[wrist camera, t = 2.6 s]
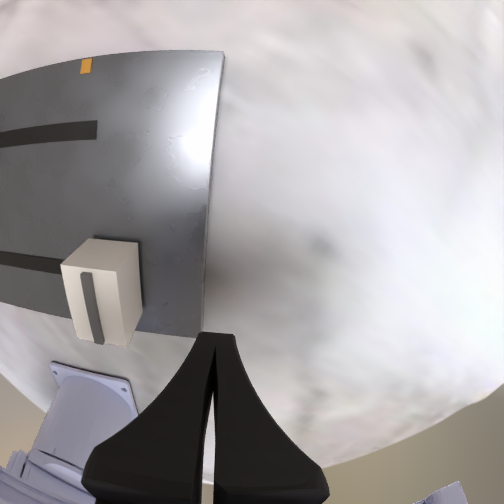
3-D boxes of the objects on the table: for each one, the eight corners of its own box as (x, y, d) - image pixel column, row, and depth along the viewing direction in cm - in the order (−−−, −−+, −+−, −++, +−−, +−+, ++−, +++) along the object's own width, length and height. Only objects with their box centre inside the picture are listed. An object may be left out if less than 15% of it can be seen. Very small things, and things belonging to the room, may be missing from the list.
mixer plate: (202, 326, 19) (200, 339, 18) (-38, 281, 17) (-46, 287, 16) (224, 57, 12) (223, 51, 11) (-57, 106, 10) (-68, 108, 9)
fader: (142, 311, 16) (125, 351, 13) (98, 305, 16) (75, 341, 13) (137, 242, 15) (113, 275, 11) (88, 238, 14) (57, 267, 11)
